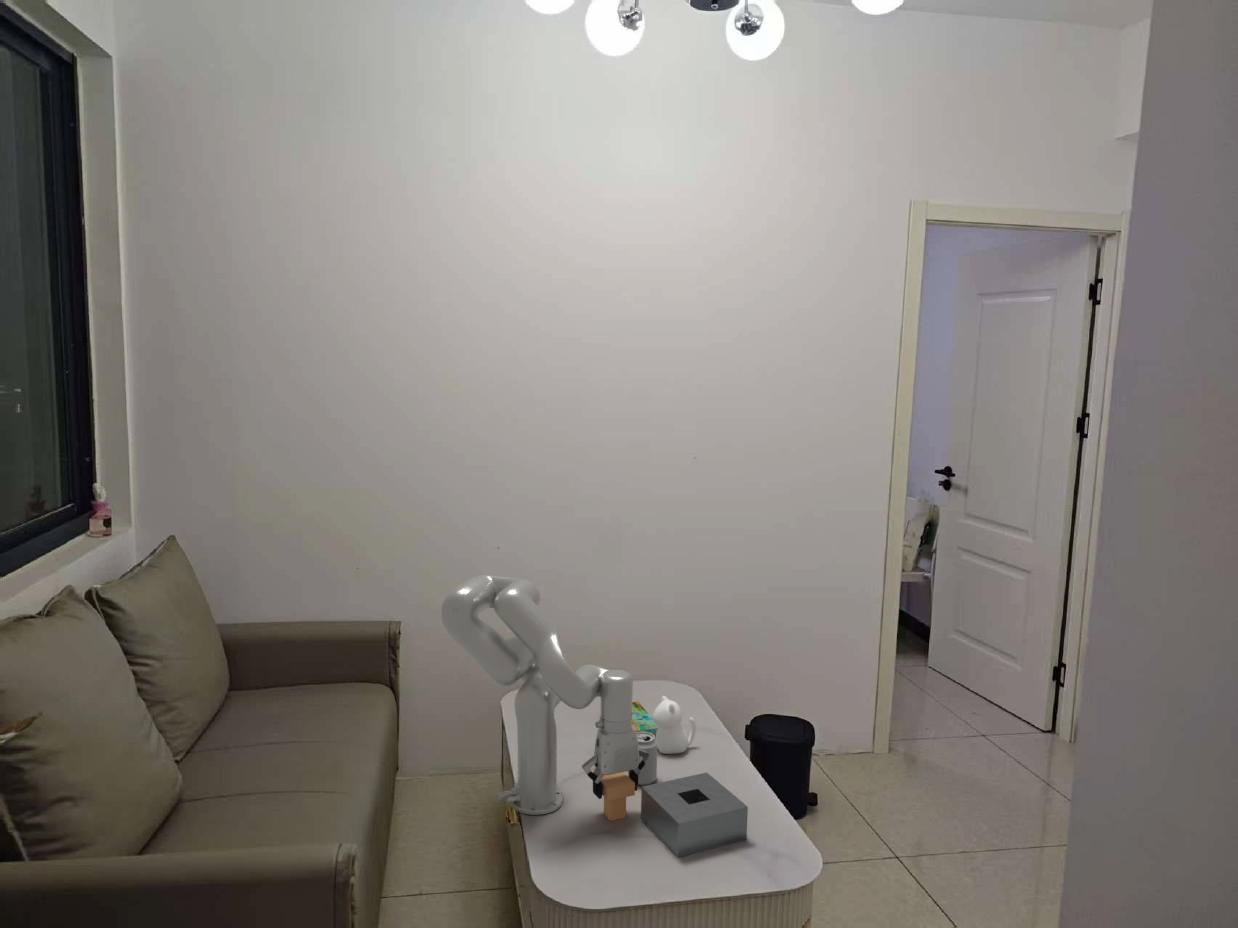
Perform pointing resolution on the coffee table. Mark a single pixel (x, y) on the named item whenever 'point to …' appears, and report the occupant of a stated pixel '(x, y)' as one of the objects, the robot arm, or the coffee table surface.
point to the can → (650, 769)
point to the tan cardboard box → (616, 794)
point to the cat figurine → (671, 728)
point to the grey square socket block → (693, 814)
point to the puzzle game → (642, 719)
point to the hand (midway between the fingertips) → (615, 792)
